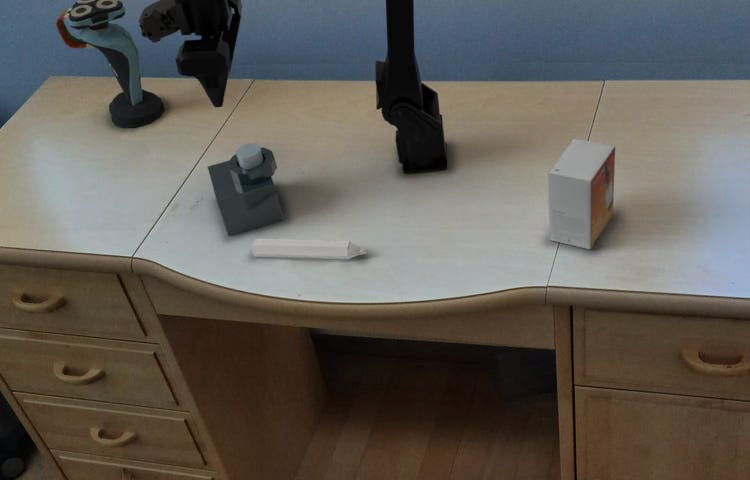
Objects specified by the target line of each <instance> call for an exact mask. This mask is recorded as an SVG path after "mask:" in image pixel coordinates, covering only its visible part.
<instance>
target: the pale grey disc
mask: <svg viewBox="0 0 750 480" xmlns="http://www.w3.org/2000/svg"><path fill="white" fill-rule="evenodd" d="M260 147H261V146H260V145H259V144H258V143H254V142H248V143H245V144H242V145H241V146H239V147H238V148H237V149H236V150H235V154H236V156H237V159H238V162H239V166H240V167H241V168H242V169H251V168H255V167H258V166H259V165H261V164H262V163H263V161H264V159H263V155H262V152H261V148H260Z"/></svg>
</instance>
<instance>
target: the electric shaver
mask: <svg viewBox="0 0 750 480" xmlns="http://www.w3.org/2000/svg"><path fill="white" fill-rule="evenodd" d="M125 15H126V8H125V5H124V4H123V2H122V1H121V0H76V1H75V3H73V5H72V7H69V8H68V9H66V10H63V11H61V13H60V14H59V17H58V18H57V20H56V21H55V27H56V29H57V31H58V33H59V36H60V37H61V40H62V41H63V42H64V44H65V45H66V46H67V47H69V48H70V49H76V50H77V49H78V50H79V49H86V50H93V49H97V50H98V51H100V53H102V54H103V56H104V57H105V59H106V61H107V63H108V64H109V65H108V66H109V67H110V68H111V71H112V73H113V75H114V77H115V80H116V81H117V83H118V85H119V86H120V88H121V90H122V92H119V93H118V94H116V96H114V98H112V99H111V101H110V103H109V105H108V111H109V113H110V116H111V122H112V123H113V124H114V126H115V127H118V128H121V129H136V128H138V127H139V128H140V127H142V126H145V125H148V124H151V123H153V122H154V121H156V120H157V119H159V118H160V117H161V116H162V115H163V113H164V111H165V110H166V109H165V104H164V102H163V100H162V98H161V97H159V96H158V95H157V94H156V93H153V92H151V91H148V90H145V89H143V88H142V79H141V70H140V69H141V68H140V54H139V50H138V48H137V45H136V43H135V41H134V40H133V36H132V35H131V33H130V31H129V30H127V29H126V28H125V27H123V26H121V25H120V24H119V23H110V22H112V21H115V20H119V19H122V18H123V17H124V16H125ZM65 21H66V22H68V24H69V26H70V27H71V29H75V30H78V31H79V36H80V38H77V37H76V36H74V35H72V34H71V32H70V31H69V29H68V28H67V26H66V24H65Z"/></svg>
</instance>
